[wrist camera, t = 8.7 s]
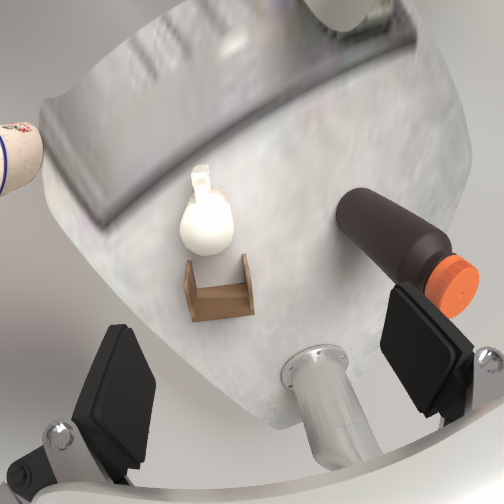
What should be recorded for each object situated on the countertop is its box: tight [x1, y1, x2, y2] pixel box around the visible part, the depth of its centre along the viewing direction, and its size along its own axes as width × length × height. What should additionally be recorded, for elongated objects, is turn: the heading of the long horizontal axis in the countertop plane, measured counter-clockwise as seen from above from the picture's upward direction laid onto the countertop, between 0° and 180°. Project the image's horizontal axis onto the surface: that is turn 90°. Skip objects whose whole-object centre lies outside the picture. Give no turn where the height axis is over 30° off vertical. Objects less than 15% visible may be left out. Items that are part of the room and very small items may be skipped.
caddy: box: [183, 254, 255, 322], centre depth 34 cm, size 5×7×6 cm
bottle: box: [336, 188, 479, 319], centre depth 26 cm, size 7×7×20 cm
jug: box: [179, 164, 234, 256], centre depth 28 cm, size 8×5×8 cm, turn 5°
